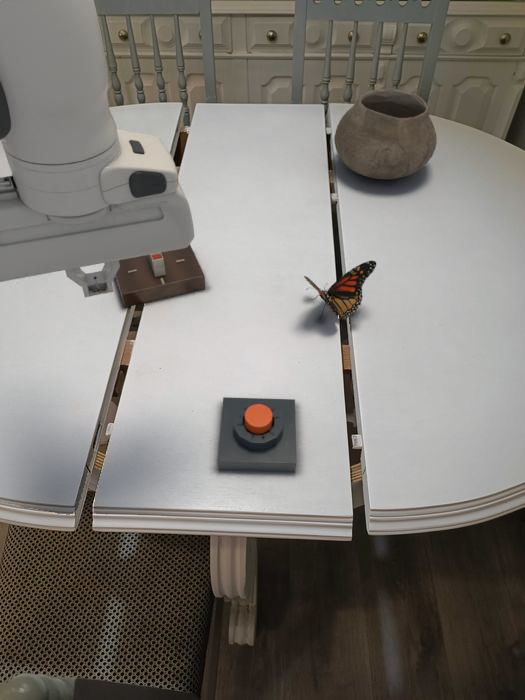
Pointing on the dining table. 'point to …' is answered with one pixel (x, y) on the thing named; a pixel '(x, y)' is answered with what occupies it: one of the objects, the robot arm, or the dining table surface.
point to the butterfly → (346, 290)
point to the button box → (257, 437)
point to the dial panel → (145, 287)
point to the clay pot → (386, 134)
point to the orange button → (258, 419)
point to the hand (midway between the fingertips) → (98, 290)
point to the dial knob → (157, 264)
